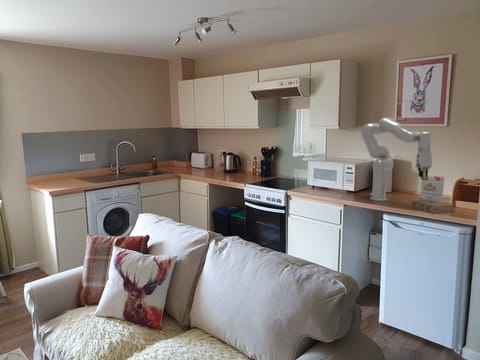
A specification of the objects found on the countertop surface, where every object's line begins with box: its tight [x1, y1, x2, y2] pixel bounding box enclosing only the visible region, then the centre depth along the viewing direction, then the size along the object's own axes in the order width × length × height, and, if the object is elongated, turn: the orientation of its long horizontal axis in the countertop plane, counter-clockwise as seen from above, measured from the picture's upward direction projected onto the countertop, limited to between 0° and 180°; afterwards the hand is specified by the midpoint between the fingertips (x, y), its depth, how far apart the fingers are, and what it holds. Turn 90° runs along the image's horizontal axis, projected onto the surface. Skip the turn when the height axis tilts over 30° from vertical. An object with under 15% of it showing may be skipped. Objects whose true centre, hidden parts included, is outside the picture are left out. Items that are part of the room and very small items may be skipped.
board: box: [410, 198, 454, 215], centre depth 250 cm, size 20×16×5 cm
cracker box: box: [419, 173, 445, 202], centre depth 268 cm, size 14×6×21 cm, turn 31°
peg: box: [419, 167, 426, 180], centre depth 252 cm, size 3×3×9 cm
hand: (423, 176), depth 252 cm, fingers closed on peg, 3 cm apart
